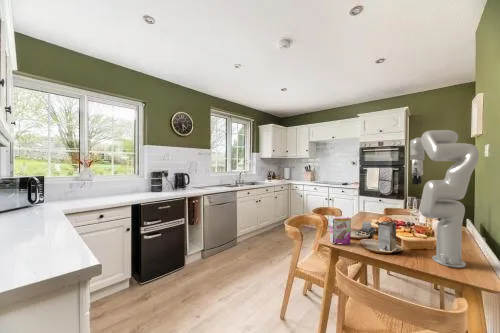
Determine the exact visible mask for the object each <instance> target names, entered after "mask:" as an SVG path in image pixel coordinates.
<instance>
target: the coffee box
mask: <svg viewBox="0 0 500 333" xmlns="http://www.w3.org/2000/svg"><path fill="white" fill-rule="evenodd" d="M377 224H378V227H377V232H378V233H377V234H378V236H377V237H378V239H377V240H378V243H377V244H378V245H377V246H378V248H379V249H382V250H385V251H392V250H394V249H395V248H396V249H397V223H396V222H395V221H393V222H392V221H388V220H387V221H386V220H384V221H381V222H378V223H377ZM378 248H377V249H378Z"/></svg>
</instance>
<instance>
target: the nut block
mask: <svg viewBox="0 0 500 333" xmlns="http://www.w3.org/2000/svg"><path fill="white" fill-rule="evenodd" d="M361 224H362V226H361V227H362V230H363V231H368V232H370V231H371V227H372V222H371V221H363V222H361Z"/></svg>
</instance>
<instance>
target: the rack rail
mask: <svg viewBox="0 0 500 333" xmlns="http://www.w3.org/2000/svg"><path fill="white" fill-rule="evenodd" d="M376 228H377V227H373V226H371V231H370V232H368V231H363V230H362V228H360V229H358V230H357V232H358V233H361V232H359V231H363V232H366V233H367V234H366V235H369V234H372V235H374V234H375V233H376V232H375V230H376ZM362 234H365V233H362Z"/></svg>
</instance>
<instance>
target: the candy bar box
mask: <svg viewBox="0 0 500 333" xmlns="http://www.w3.org/2000/svg"><path fill="white" fill-rule="evenodd" d="M351 222H352V218H350V217H349V216H330V227H329V228H330V232H329V236H330V237H329V241H331V242H332V243H342V244H341V245H351V233H352V232H351V228H352V227H351V225H352V223H351ZM331 242H330V243H331ZM332 243H331V244H332Z"/></svg>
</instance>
